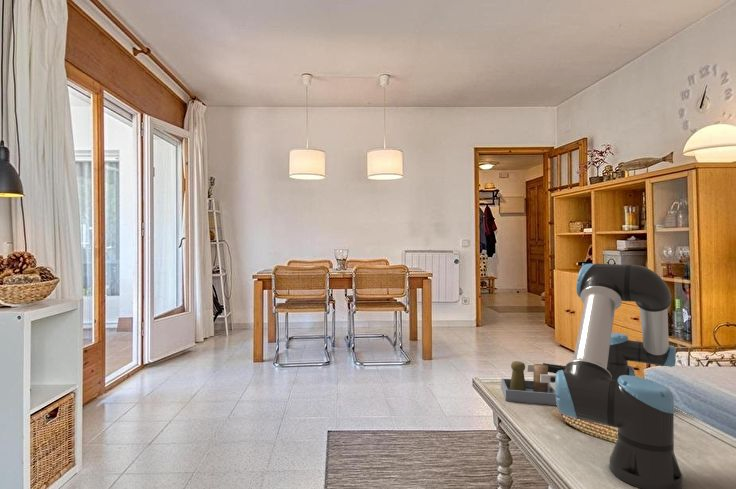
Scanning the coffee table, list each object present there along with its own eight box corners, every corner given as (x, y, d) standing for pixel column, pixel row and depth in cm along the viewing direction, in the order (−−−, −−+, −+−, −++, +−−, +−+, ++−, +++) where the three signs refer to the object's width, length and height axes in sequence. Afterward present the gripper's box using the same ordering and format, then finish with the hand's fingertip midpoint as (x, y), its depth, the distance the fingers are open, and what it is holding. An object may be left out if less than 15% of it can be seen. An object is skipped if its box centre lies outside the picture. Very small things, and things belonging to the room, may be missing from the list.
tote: (557, 405, 152) (557, 394, 152) (505, 400, 155) (505, 390, 155) (548, 391, 166) (548, 381, 166) (501, 388, 170) (501, 378, 170)
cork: (507, 390, 164) (508, 362, 164) (512, 386, 169) (512, 359, 169) (523, 393, 161) (523, 364, 161) (527, 389, 166) (528, 361, 166)
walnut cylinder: (548, 397, 157) (549, 368, 157) (534, 396, 158) (535, 367, 158) (545, 392, 162) (546, 364, 162) (531, 391, 163) (532, 363, 163)
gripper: (607, 395, 147) (546, 394, 148) (574, 374, 172) (522, 373, 173) (608, 374, 147) (547, 372, 148) (574, 356, 172) (522, 355, 173)
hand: (533, 373), depth 160 cm, fingers open, 13 cm apart
